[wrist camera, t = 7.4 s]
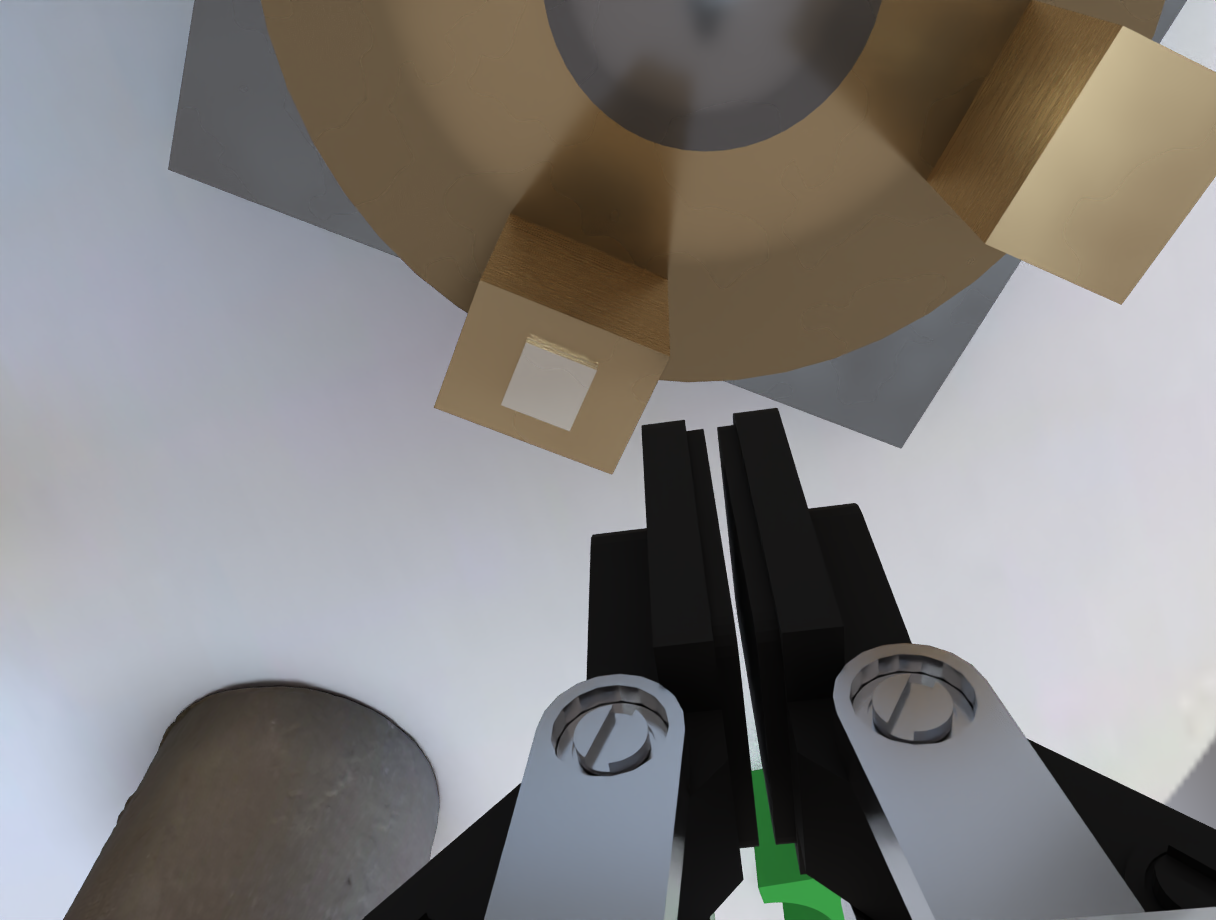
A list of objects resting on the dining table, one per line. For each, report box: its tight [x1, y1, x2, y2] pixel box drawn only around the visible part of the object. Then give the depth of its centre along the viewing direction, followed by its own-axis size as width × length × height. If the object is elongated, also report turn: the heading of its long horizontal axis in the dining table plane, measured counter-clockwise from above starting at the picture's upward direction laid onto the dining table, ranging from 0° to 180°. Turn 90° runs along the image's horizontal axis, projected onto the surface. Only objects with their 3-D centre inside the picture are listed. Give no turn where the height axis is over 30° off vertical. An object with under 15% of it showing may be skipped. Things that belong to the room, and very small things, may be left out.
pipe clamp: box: [751, 769, 845, 920], centre depth 31 cm, size 11×4×5 cm, turn 18°
